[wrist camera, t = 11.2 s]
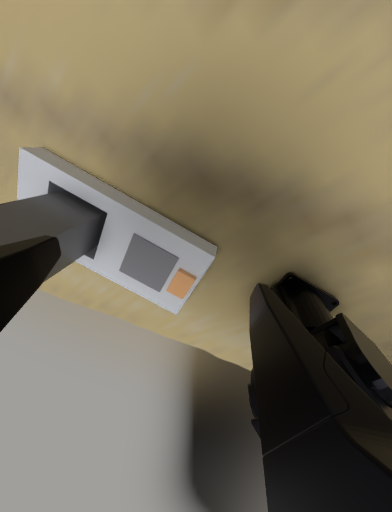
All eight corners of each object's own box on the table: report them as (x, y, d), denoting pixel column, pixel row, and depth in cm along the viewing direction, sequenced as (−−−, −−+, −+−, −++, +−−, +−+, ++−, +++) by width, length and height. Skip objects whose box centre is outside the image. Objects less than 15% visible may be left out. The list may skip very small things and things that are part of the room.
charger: (111, 210, 21) (-12, 266, 11) (101, 242, 24) (-10, 317, 13) (73, 188, 21) (-95, 224, 10) (66, 223, 23) (-79, 284, 12)
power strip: (217, 246, 21) (214, 260, 19) (181, 301, 26) (175, 318, 23) (43, 147, 20) (12, 146, 17) (35, 223, 24) (10, 231, 21)
